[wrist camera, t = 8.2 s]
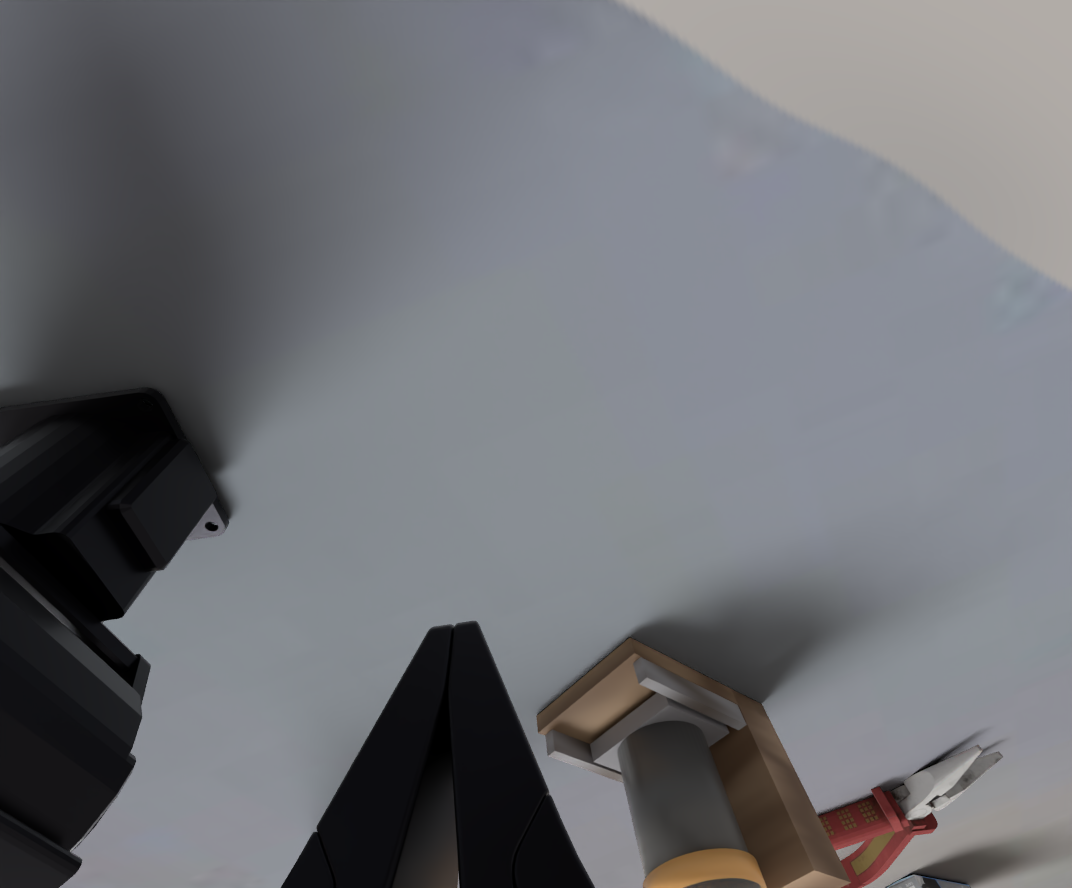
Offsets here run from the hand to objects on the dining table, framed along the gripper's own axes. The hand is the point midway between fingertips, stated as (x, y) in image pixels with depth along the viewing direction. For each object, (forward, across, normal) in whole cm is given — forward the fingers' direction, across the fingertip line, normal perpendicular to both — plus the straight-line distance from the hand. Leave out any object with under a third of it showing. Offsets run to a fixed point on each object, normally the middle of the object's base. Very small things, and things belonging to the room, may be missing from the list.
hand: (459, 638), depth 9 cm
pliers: (+13, -26, +43) cm, 51 cm away
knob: (+11, -7, +23) cm, 26 cm away
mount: (+12, -8, +24) cm, 27 cm away
